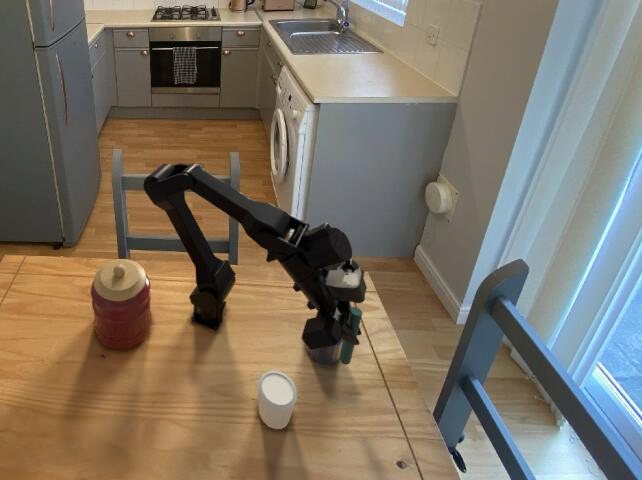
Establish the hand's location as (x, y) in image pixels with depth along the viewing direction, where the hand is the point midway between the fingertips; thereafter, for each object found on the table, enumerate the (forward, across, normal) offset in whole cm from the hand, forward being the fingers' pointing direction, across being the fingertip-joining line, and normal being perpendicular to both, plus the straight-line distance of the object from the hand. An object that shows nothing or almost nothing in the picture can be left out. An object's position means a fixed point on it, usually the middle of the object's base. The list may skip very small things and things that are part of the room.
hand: (358, 339), depth 77 cm
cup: (+5, +6, +14) cm, 16 cm away
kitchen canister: (-23, -11, +42) cm, 49 cm away
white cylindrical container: (+2, -12, +17) cm, 21 cm away
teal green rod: (+4, 0, +6) cm, 7 cm away
